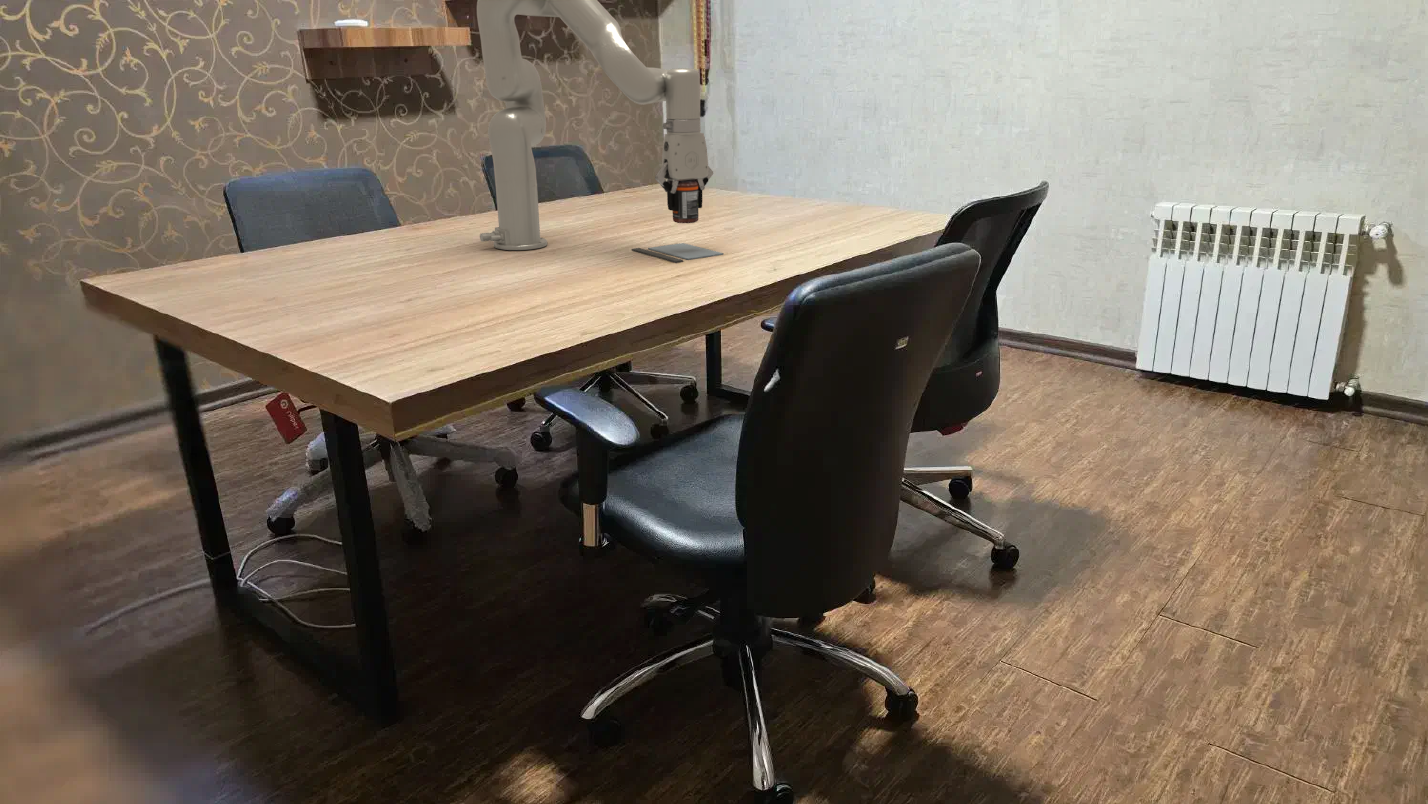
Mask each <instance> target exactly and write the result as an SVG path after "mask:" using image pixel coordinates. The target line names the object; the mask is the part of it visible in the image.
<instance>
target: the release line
mask: <svg viewBox="0 0 1428 804" xmlns="http://www.w3.org/2000/svg"><path fill="white" fill-rule="evenodd" d="M631 251H632V252H636V253H640V254H643V255H646V256H649V257H650V256H651V257H653V258H656V259H661V260H664V261H667V262H670V263H675V264H678V263H683V262H684V260H683V259H682V258H679V257H675V256H671V255H668V254H664V253H660V252H657V251H653V250H650V249H644V248H642V247H641V248H640V247H635V248H631Z"/></svg>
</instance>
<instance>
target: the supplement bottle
mask: <svg viewBox="0 0 1428 804" xmlns="http://www.w3.org/2000/svg"><path fill="white" fill-rule="evenodd" d="M676 193H678V211H672V220H673V222H674V223H677V224H694V223H697V222H698V221H699V208H698V183H697V182H696V181H695V180H694V179H692V180H682V181H679V182H678V185H677V189H676Z"/></svg>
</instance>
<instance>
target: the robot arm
mask: <svg viewBox="0 0 1428 804" xmlns="http://www.w3.org/2000/svg"><path fill="white" fill-rule="evenodd" d="M517 15H519V16H520V15H521V16H528V17H530V16H531V17H547V18H548V17H549V18H550V17H551V18H559V19H560V20H561V21H562V22H563V23H564V25H566V26H567V27H568V29H569V30H571V31H572V33H573V34H574V35H575V36H576V37H577V38H578V39H579V41H580V42H582V43H583V44H584V45H585V47H586V48H587V49H588V50H589V51H590V53H591V54H592V56H593V58H594V60H595V61H596V62H597V63H598V65H599V66H600V68H601V69H602V71H603V72H604V73H605V75H606V76H607V77H608V79H610V80H611V82H612V83H613V84H614V85H615V86H616V87H617V88H618V89H619V90H620V91H621V93H623V94H624V96H625V97H627V98H628V99H629V100H630V101H631V102H633V103H634V104H637V105H642V106H643V105H649V104H655V103H660V102H665V109H666V112H665V113H666V116H665V117H666V121H665V122H663V123H662V128H663V130H666V133H665V134H664V136H663V137H664V138H663V142H662V143H663V144H662V150H661V151H662V152H661V153H662V154H661V167H660V169H659V170H658V172H657V173H656V175H655V176H654V180H655V181H656V182H657V183H658V184H660V186H661V187H662V189H663V190H664V191H665V192H666V195H667V196H666V198H667V199H666V200H667V203H666V204H667V208H668V210H669V211H672V212H673V211H678V193H676V189H677V185H678V182H679V181H682V180H692V179H694V180H695V181H696V182H697V183H698V209H702V208H703V191H704V190H705V189H706V188H705V187H706V185H707V184H708V182H709V180H710V179H711V178H712V176H713V175H714V171H713V170H712V168H711V167H710V166H709V157H708V148H707V142H706V137H705V134H704V132H701V129H702V128H701V78H700V77H701V76H700V73H699V71H698V70H697V69H696V68H691V67H690V68H689V67H688V68H686V67H685V68H683V67H682V68H680V67H679V68H670V69H665V68H659V67H647V66H646V65H645V64H644V63H643V62H642V61H641V60H640V59H639V58H638V57H637V56H636V55H635V54H634V52H633V51H632V50H631V49H630V47H629V46H628V45H627V44H626V42H625V40H624V38H623V35H622V29H621V26H620V24H619V22H618V21H617V20H616V19H615V17H613V16H612V15H611V13H610V12H608V10H607V9H606V8H605V6H604V5H603V4H601V3H600V2H599V1H598V0H477V2H476V18H477V25H478V30H479V37H480V44H481V45H480V46H481V55H482V60H483V68H484V75H485V77H484V78H485V83H486V87H487V88H486V89H487V90H488V92H489V94H490V96H491V97H493V98H494V99H496V100H497V101H499V102H504V103H505V108H503V109H501V110H499V111H497V112H496V113H495V114H494V115H493V116H492V117H491V118H490V120H489V123H488V126H487V127H488V129H487V135H488V136H487V137H488V143H489V146H490V150H491V155H492V162H493V171H494V172H493V173H494V181H495V184H494V185H495V194H496V206H497V208H496V209H497V220H498V226H497V227H496V226H495V227H494V230H492V231H491V232H482V233H480V234H479V239H480V242H489V241H490V242H493V248H495V249H497V250H498V249H499V250H504V251H527V250H535V249H536V250H537V249H541V248H544V247H547V245H548V239H546V238H545V237H544V238H543V237H541V228H540V227H541V226H540V225H541V224H540V212H539V196H538V194H539V193H538V181H537V168H536V163H535V157H534V154H533V149H532V148H534V147H535V146H537V145H539V144H540V143H541V142H542V141H543V140H544V137H545V136H546V133H547V119H546V110H545V102H544V101H545V100H544V94H543V87H542V85H543V84H542V81H541V77H540V74H539V72H538V70H537V68H536V66H535V65H534V64H533V63H532V62H531V61H529V60H528V59H526V58H523V56H522V52H521V51H522V50H521V42H520V36H519V32H518V29H517V25H516V23H515V17H516V16H517Z"/></svg>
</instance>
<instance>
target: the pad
mask: <svg viewBox="0 0 1428 804" xmlns="http://www.w3.org/2000/svg"><path fill="white" fill-rule="evenodd" d="M647 248H648V249H647V250H649V251H652V252H656V253H660V254H663V255H667V256H671V257H674V258H678V259H681V260H683V259H684V260H686V261H689V260H697V259H703V258H710V257H717V256H721V255H722V256H723V255H724V252H720V251H716V250H712V249H708V248H704V247H700V246H696V245H693V244H688V243H685V242H681V243H674V244H673V243H672V244H665V245H660V246H652V247H647Z"/></svg>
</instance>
